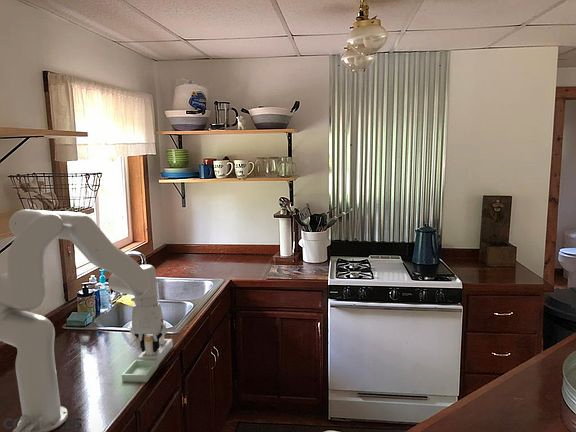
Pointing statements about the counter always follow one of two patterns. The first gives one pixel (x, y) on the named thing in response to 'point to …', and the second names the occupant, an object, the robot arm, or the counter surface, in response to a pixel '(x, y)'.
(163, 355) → the holder block
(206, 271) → the counter surface
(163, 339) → the cylinder
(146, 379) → the tray
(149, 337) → the cylinder
